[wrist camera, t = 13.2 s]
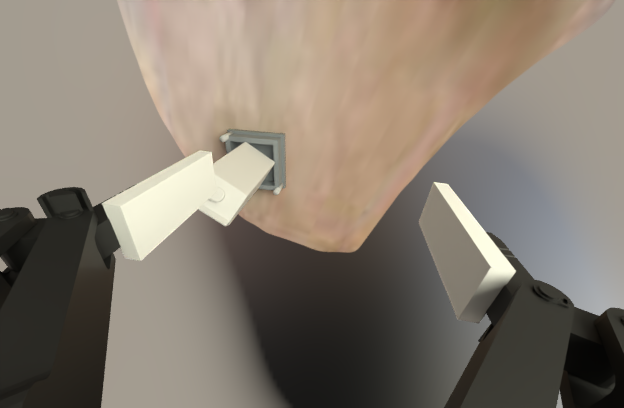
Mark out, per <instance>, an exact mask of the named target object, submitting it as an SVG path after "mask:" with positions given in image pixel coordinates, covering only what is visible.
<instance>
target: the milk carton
mask: <svg viewBox="0 0 624 408" xmlns="http://www.w3.org/2000/svg"><path fill="white" fill-rule="evenodd" d="M274 164H275V162H274V161H273V160H271V159H270V158H268V157H267V156H265V155H264V154H263V153H261V152H260V151H258V150H257V149H255V148H254V147H253V146H251V145H250V144H248V143H247V142H244V143H243V144H241V145H240V146H238V147H237V148H235V149H234V150H232V151H231V152H229V153H228V154H226V155H225V156H224V157H222V158H221V159H219V160H218V161H216V162H215V163H213V167H214V175H215V182H216V190H217V192H216V193H215V194H214V195H213V196H212V197H211V198H210V199H208V200H207V201H206V202H205V203H204V204H203V205H202V206H201V207H200V208H199V209H198V210H200V211H202V212H203V213H205V214H206V215H208V216H209V217H211V218H213V219H214V220H216V221H217V222H219V223H221V224H222V225H224V226H226V225H229V224H230V223H231V222H232V221H233V219H234V218H235V217H236V216H237V214H238V213H239V212H240V211H241V209H242V208H243V207H244V206H245V204H246V203H247V202H248V201H249V199H250V198H251V197H252V196H253V194H254V193H255V192H256V191H257V189H258V188H259V187H260V185H261V184H262V182H263V181H264V179H265V178H266V176H267V175H268V173H269V172H270V170H271V168H272V167H273V165H274Z"/></svg>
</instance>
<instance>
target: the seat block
mask: <svg viewBox="0 0 624 408" xmlns="http://www.w3.org/2000/svg"><path fill="white" fill-rule="evenodd" d="M227 131H228V133H226V134H224V135H222V136H220V141H221V142H225V144H226V151H227V154H228V153H229V152H231V151H232V150H234V149H235V148H237V147H238V146H240V145H241V144H243V143H244V142H247V143H248V144H250V145H251V146H253V147H254V148H255V149H257V150H258V151H260V152H261V153H263V154H264V155H265V156H267V157H268V158H270V159H271V160H273V161H274V162H275V164H274V165H273V167H272V168H271V170H270V172H269V173H268V175H267V176H266V178H265V179H264V181H263V182H262V184H261V185H260V187H259V188H258V189H266V190H274V191H273V193H274V195H278V194H279V192H280V191H281V189H282V188H285V187H286V176H285V134H282V133H270V132H259V131H247V130H236V129H229V130H227Z"/></svg>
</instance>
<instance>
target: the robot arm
mask: <svg viewBox="0 0 624 408" xmlns="http://www.w3.org/2000/svg"><path fill="white" fill-rule="evenodd" d="M216 192H217V190H216V182H215V175H214V167H213V160H212V152H208V151H201V150H199V151H197V152H196V153H194V154H192V155H190V156H188V157H186V158H185V159H183V160H181V161H179V162H177V163H175V164H174V165H172V166H170V167H168V168H166V169H164V170H162V171H160V172H159V173H157V174H155V175H153V176H151V177H149V178H148V179H146V180H144V181H142V182H140V183H138V184H136V185H133V186H132V187H130V188H128V189H126V190H125V191H122V192H120V193H119V194H118V195H115V196H113V197H111V198H109V199H107V200H106V201H104V202H102V203H100V204H98V205H96V206H94V207H92V205H91V202H90V200H89V198H88V196H87V194H86V191H85V190H84V189H82V188H78V187H77V188H76V187H70V188H62V189H57V190H53V191H50V192H47V193H45V194H43V195H41V196H40V197H38V198H37V200H38V202H39V204H40V206H41V207H42V209H43V211H44V213H45V214H46V216H47V218H39V219H35V218H34V217H33V215H32V214H31V212H30V211H29V209H28V208H24V207H15V208H5V209H2V210H1V209H0V257H1V258H2V260H3V261H4V262H5V264H6V265H7V266H8V267H7V268H6V269H5V270H4V271H3V272H1V271H0V408H101V401H102V391H103V381H104V371H105V361H106V351H107V340H108V330H109V321H110V311H111V301H112V291H113V280H114V271H115V256H114V254H113V252H115V251H116V250H117V249H118V248H121V250H122V253H123V255H124V258H128V259H133V260H139V261H141V260H142V259H143V258H145V256H147V255H148V254H149V253H150V252H151V251H152V250H153V249H155V248H156V247H157V246H158V245H159V244H160V243H161V242H162V241H163V240H164V239H165V238H167V237H168V236H169V235H170V234H171V233H172V232H173V231H174V230H175V229H177V227H179V226H180V225H181V224H182V223H183V222H184V221H185V220H186V219H188V218H189V217H190V216H191V215H192V214H193V213H194V212H195V211H196V210H197V209H199V208H200V207H201V206H202V205H203V204H204V203H205V202H206V201H207V200H208V199H210V198H211V197H212V196H213V195H214V194H215V193H216ZM419 225H420V227H421V230H422V232H423V235H424V237H425V240H426V242H427V245H428V247H429V250H430V252H431V255H432V257H433V260H434V262H435V264H436V267H437V269H438V272H439V274H440V277H441V279H442V282H443V284H444V287H445V289H446V292H447V294H448V297H449V299H450V302H451V304H452V307H453V309H454V312H455V314H456V316H457V319H458V320H462V321H468V322H474V323H480V321H481V320H482V318H483V317H484V316H485V314H486V313H487V315H488V317H489V319H490V321H491V324H490V326H489V327H488V328H487V330H486V331H485V332H484V334H483V335H482V336H481V338H480V339H479V340H478V341H479V342H480V343H479V345H478V347H477V348H476V350H475V352H474V354H473V356H472V357H471V359H470V361H469V363H468V365H467V367H466V368H465V370H464V372H463V374H462V376H461V378H460V380H459V381H458V383H457V385H456V387H455V389H454V391H453V392H452V394H451V396H450V398H449V400H448V401H447V403H446V405H445V407H444V408H556V405H557V400H558V394H559V389H560V394H561V399H562V405H563V408H624V310H623V309H620V308H609V309H607V310H606V311H605V312H604V313H603V314H601V315H600V316H598V315H595V314H592V313H589V312H587V311H584V310H581V309H579V308H576V307H574V304H573V303H572V301H571V300H570V299H569V298H568V297H567V296H566V295H565V294H563V293H562V292H561V291H560V290H558V289H556V288H555V287H553V286H551V285H549V284H547V283H544V282H542V281H538V280H534V279H533V277H532V276H531V275H530V274H529V273H528V271H527V270H526V269H525V268H524V267H523V265H522V264H521V263H520V262H519V261H518V259H517V258H514V255H513V254H512V252H511V251H509V249H508V248H507V247H506V245H505V244H504V243H503V242H502V241H501V240H500V239H499V238H497V237H496V236H495V235H493V234H492V233H488V232H485V231H484V230H483V228H482V227H481V226H480V224H479V223H478V222H477V221H476V219H475V218H474V217H473V216H472V214H471V213H470V212H469V210H468V209H467V208H466V207H465V205H464V204H463V203H462V202H461V200H460V199H459V198H458V197H457V195H456V194H455V193H454V192H453V190H452V189H451V188H450V186H449V185H448V184H443V183H436V182H434V183H433V185H432V188H431V190H430V193H429V196H428V199H427V201H426V204H425V207H424V209H423V212H422V214H421V217H420V220H419Z"/></svg>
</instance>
